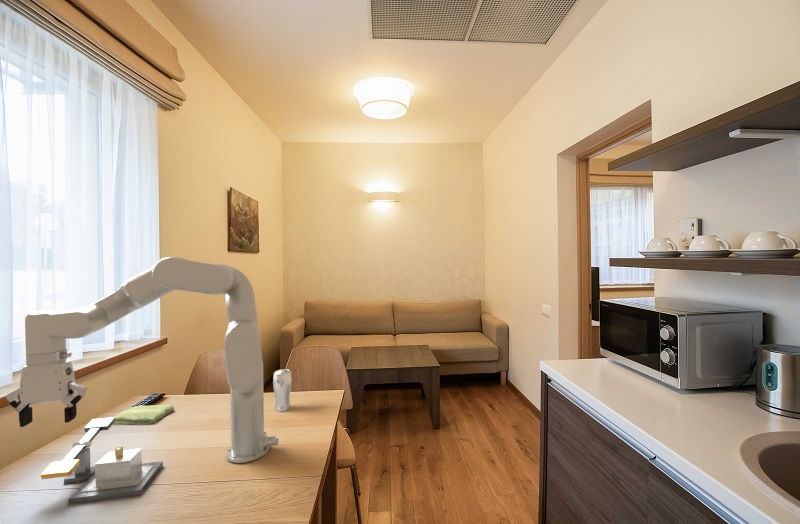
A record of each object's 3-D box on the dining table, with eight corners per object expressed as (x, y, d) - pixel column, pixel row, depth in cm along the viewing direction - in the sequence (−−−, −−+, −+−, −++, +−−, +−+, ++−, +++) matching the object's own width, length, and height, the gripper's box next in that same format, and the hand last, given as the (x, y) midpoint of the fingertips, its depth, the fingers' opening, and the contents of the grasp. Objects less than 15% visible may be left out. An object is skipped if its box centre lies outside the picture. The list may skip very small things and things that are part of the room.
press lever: (115, 421, 111) (114, 416, 110) (69, 476, 91) (68, 471, 90) (93, 423, 109) (92, 418, 109) (41, 479, 90) (40, 474, 89)
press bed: (165, 462, 107) (165, 438, 106) (140, 495, 92) (139, 467, 92) (76, 472, 102) (75, 447, 102) (34, 509, 87) (33, 479, 87)
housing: (141, 469, 100) (141, 441, 100) (130, 482, 95) (129, 452, 94) (109, 473, 99) (108, 444, 99) (95, 486, 93) (94, 456, 93)
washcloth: (134, 410, 144) (134, 402, 144) (176, 411, 143) (175, 403, 143) (105, 426, 131) (105, 417, 131) (151, 426, 130) (151, 418, 130)
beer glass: (288, 412, 140) (288, 374, 140) (271, 412, 140) (270, 374, 140) (294, 405, 147) (293, 369, 147) (277, 405, 147) (276, 369, 147)
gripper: (93, 351, 99) (95, 412, 99) (18, 356, 95) (20, 419, 95) (76, 359, 92) (77, 425, 92) (-7, 364, 88) (-5, 433, 88)
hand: (48, 422), depth 94 cm, fingers open, 9 cm apart
